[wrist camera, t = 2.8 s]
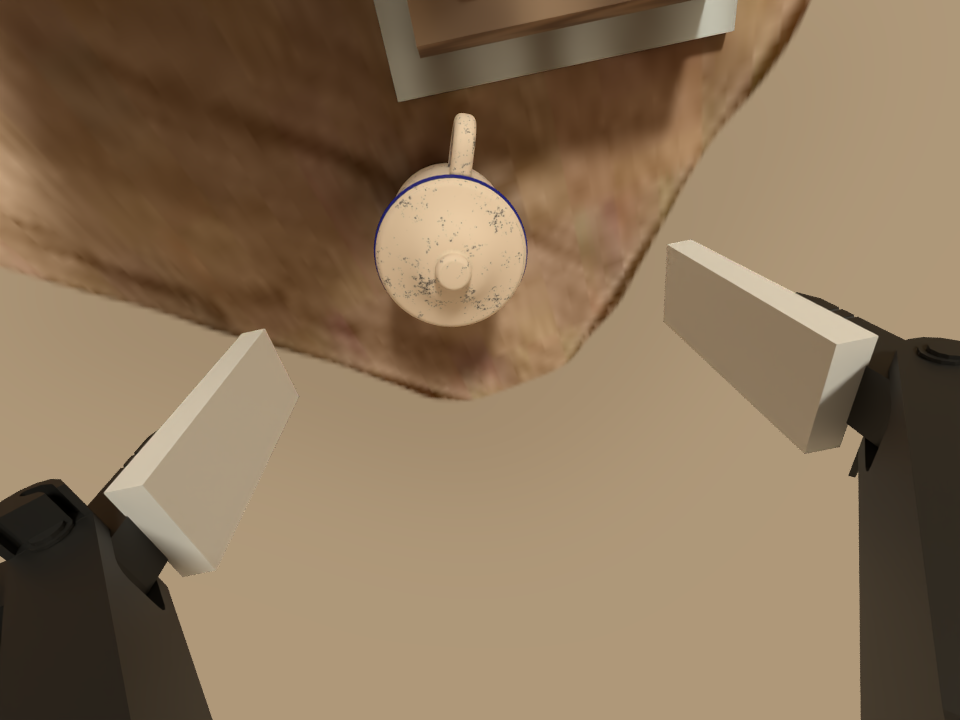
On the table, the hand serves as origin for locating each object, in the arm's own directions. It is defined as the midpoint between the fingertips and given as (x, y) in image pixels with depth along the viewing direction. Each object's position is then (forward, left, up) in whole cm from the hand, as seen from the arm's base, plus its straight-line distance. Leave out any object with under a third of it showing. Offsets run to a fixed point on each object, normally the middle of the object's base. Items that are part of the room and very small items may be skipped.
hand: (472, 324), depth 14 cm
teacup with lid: (0, 0, -21) cm, 21 cm away
